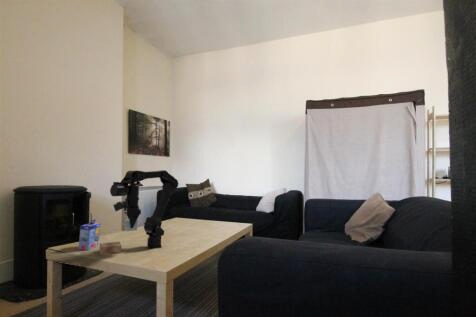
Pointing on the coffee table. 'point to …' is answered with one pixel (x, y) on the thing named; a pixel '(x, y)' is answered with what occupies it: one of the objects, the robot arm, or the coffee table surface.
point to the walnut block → (110, 248)
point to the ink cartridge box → (89, 235)
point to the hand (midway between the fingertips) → (131, 227)
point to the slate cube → (127, 226)
